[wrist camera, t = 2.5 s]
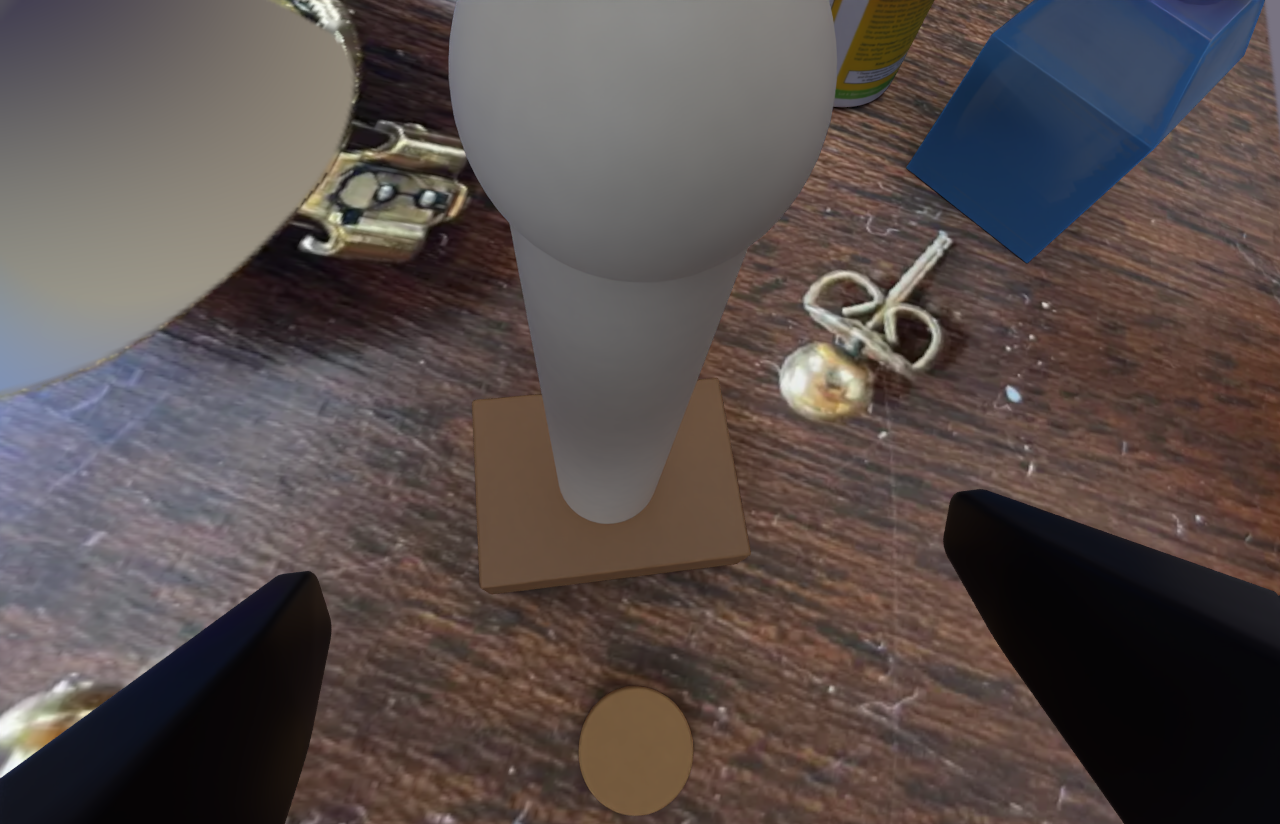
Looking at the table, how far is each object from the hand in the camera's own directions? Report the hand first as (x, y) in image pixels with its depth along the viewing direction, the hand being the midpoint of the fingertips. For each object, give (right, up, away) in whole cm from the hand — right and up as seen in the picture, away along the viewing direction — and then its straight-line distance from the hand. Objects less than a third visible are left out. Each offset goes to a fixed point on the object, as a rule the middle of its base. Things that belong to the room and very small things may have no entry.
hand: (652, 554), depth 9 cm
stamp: (-1, -1, +12) cm, 12 cm away
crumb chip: (0, -8, +10) cm, 12 cm away
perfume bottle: (+15, +12, +18) cm, 27 cm away
